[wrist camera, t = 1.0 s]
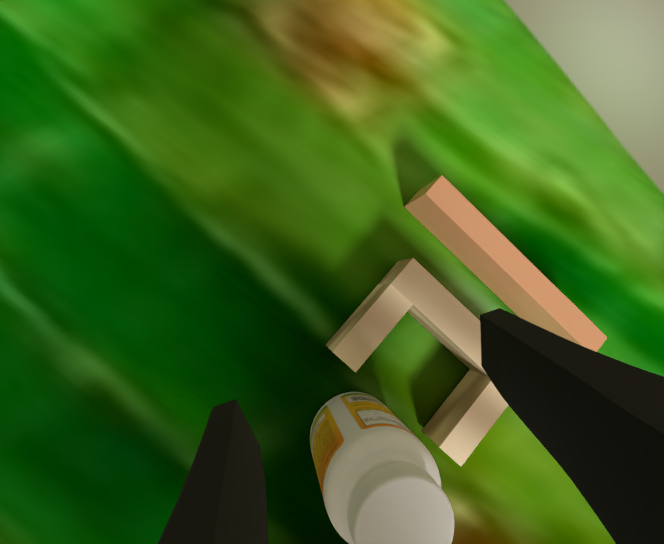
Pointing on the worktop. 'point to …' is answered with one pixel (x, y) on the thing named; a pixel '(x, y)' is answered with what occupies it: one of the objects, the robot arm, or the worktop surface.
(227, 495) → the robot arm
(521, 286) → the rail
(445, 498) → the supplement bottle
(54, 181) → the worktop surface
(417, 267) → the slot block
